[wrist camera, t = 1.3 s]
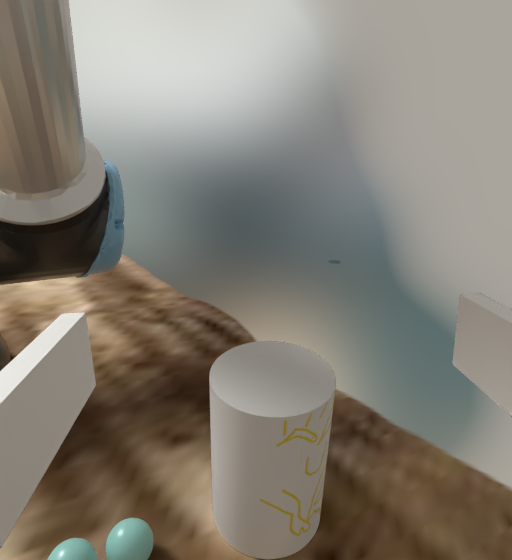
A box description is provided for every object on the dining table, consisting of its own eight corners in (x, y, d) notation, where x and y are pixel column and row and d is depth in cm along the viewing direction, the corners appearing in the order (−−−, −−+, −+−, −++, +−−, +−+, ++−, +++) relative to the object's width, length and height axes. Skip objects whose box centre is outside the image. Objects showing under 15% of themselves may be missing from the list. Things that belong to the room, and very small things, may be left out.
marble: (107, 545, 29) (102, 514, 28) (152, 532, 30) (149, 502, 29) (108, 589, 26) (102, 557, 25) (157, 574, 27) (154, 543, 26)
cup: (286, 584, 27) (298, 438, 22) (189, 518, 31) (182, 383, 26) (337, 493, 33) (355, 365, 29) (251, 449, 37) (254, 330, 33)
